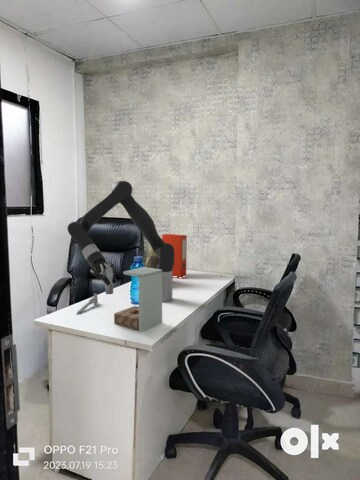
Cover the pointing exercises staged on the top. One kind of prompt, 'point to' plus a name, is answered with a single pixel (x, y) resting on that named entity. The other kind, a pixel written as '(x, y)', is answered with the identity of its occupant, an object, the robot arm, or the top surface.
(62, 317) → the top surface
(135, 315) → the socket block
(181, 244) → the file binder
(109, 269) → the steel peg
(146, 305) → the pale green block
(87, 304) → the caliper
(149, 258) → the decorative clock
